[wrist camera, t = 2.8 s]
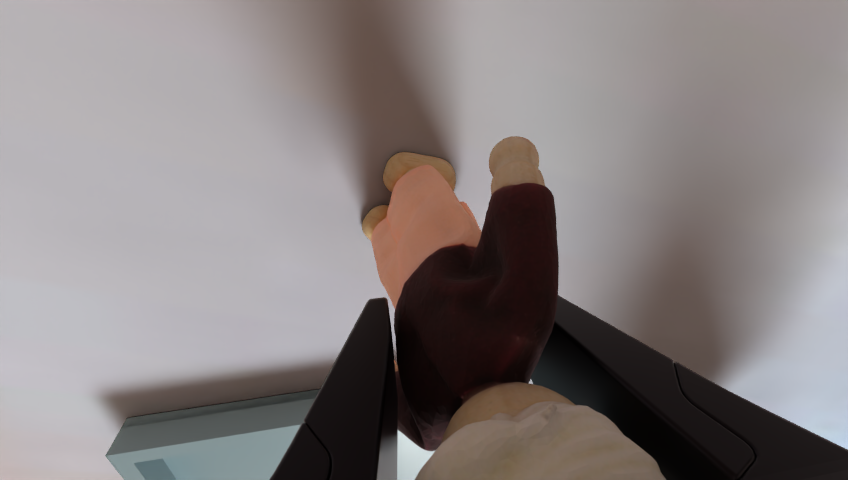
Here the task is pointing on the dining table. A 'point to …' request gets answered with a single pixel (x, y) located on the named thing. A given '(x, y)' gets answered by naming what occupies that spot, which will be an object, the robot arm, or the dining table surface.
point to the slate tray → (226, 441)
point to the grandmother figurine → (484, 327)
